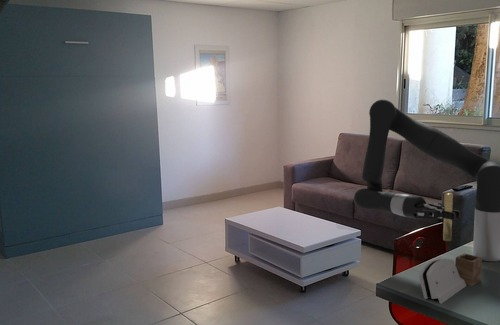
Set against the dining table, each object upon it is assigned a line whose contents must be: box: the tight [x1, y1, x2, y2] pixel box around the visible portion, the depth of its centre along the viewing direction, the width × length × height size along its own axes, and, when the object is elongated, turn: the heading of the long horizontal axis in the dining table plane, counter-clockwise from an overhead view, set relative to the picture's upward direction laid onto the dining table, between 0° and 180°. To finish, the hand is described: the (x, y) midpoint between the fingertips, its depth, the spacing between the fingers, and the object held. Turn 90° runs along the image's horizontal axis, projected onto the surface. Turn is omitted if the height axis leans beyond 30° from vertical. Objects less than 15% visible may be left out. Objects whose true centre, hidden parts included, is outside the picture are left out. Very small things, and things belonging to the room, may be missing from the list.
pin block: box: [454, 253, 483, 287], centre depth 140 cm, size 5×5×8 cm
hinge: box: [418, 258, 467, 304], centre depth 134 cm, size 17×5×10 cm, turn 132°
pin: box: [442, 192, 454, 242], centre depth 143 cm, size 2×2×15 cm
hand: (457, 215), depth 141 cm, fingers closed on pin, 2 cm apart
